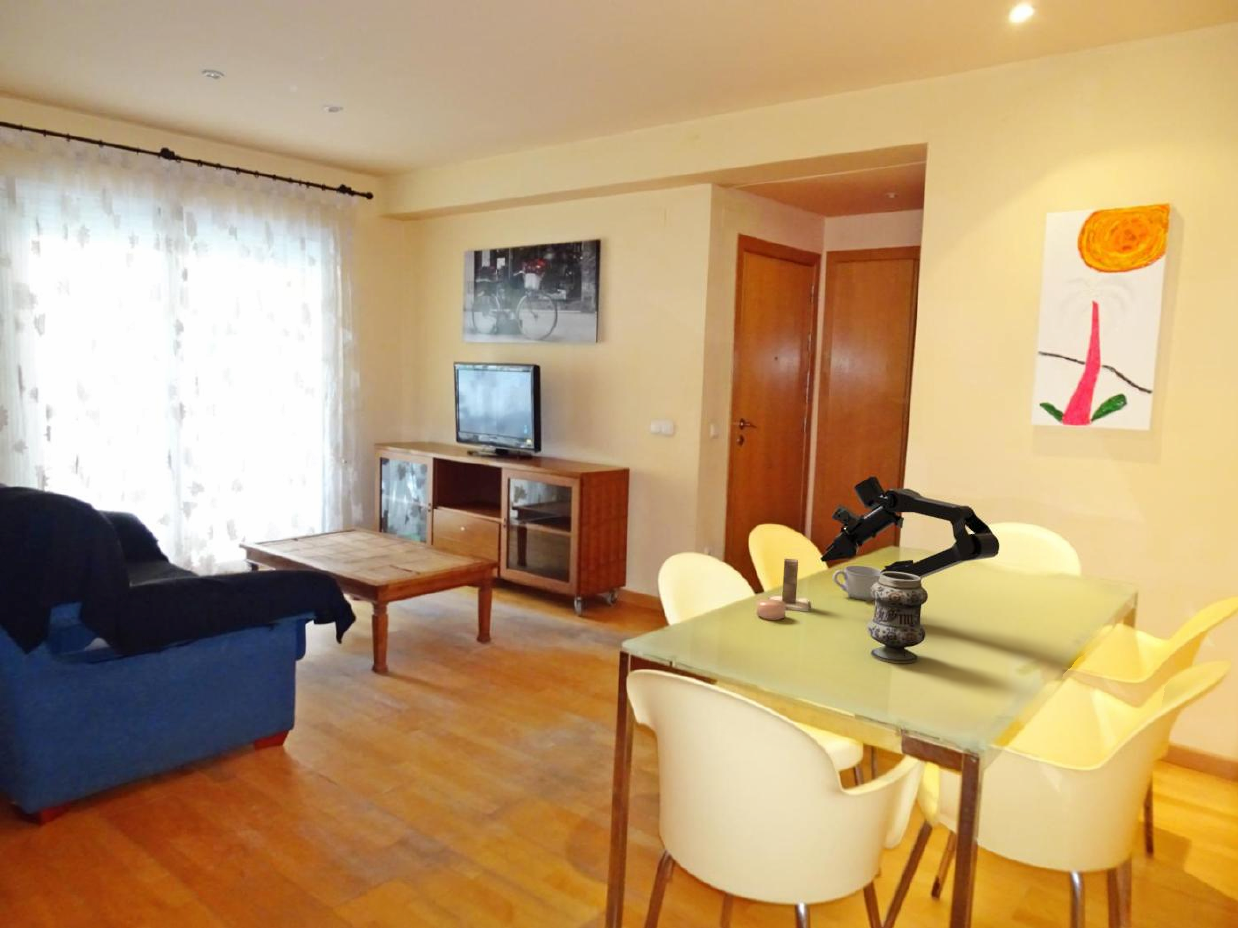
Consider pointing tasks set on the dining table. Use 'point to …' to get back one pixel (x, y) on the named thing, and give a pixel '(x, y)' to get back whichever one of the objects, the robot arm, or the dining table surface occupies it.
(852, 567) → the teacup
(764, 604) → the pink rounded disc
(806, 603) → the brown wooden post
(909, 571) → the robot arm
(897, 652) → the apothecary jar
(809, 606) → the rubber mat
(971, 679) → the dining table surface
